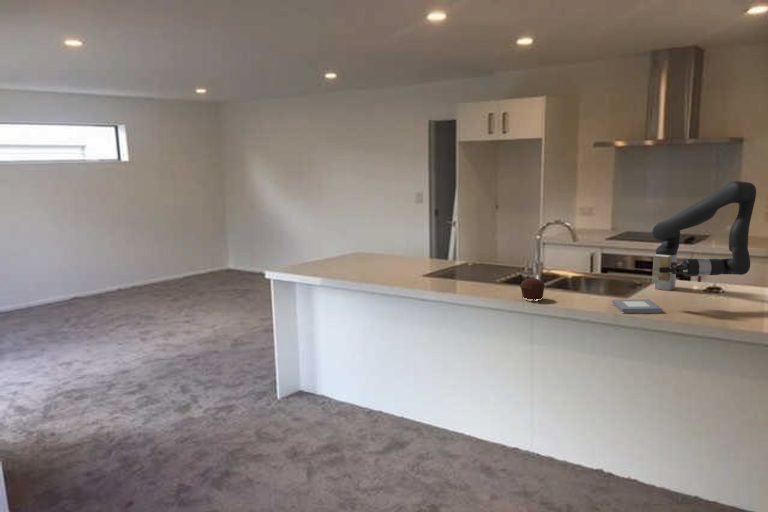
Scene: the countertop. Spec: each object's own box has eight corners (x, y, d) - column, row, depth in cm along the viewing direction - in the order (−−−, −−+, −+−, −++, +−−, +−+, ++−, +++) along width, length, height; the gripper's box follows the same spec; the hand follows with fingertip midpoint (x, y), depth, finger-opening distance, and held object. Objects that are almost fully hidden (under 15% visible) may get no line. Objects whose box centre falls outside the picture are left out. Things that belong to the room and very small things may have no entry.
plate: (612, 303, 263) (612, 299, 263) (649, 303, 261) (649, 299, 261) (622, 313, 248) (622, 308, 247) (661, 312, 246) (661, 308, 245)
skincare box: (651, 283, 252) (652, 255, 250) (655, 281, 255) (656, 253, 253) (667, 284, 248) (668, 256, 246) (670, 283, 251) (671, 255, 249)
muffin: (547, 298, 279) (548, 277, 277) (541, 303, 269) (541, 282, 268) (523, 296, 285) (523, 276, 283) (516, 301, 275) (516, 280, 274)
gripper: (689, 256, 255) (650, 257, 257) (704, 261, 241) (662, 262, 243) (689, 272, 256) (650, 273, 258) (703, 279, 242) (662, 280, 244)
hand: (656, 268), depth 250 cm, fingers closed on skincare box, 7 cm apart
